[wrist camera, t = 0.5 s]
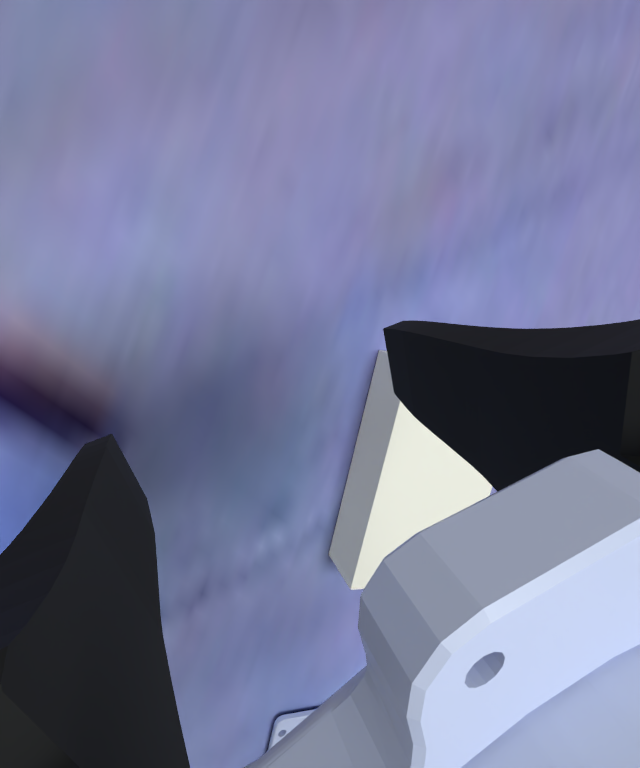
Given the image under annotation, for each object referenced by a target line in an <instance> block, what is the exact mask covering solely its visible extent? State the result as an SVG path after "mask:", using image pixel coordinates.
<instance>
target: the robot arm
mask: <svg viewBox="0 0 640 768" xmlns="http://www.w3.org/2000/svg"><path fill="white" fill-rule="evenodd" d="M383 330H384V336H385V342H386V348H387V354H388V360H389V366H390V372H391V378H392V384H393V390H394V394H395V395H396V396H397V397H398V399H399V400H400V401H401V402H402V404H403V405H404V406H405V407H406V408H407V409H408V410H409V412H410V413H411V414H412V415H413V416H414V417H415V418H416V419H417V420H418V421H419V422H421V423H422V424H423V425H424V426H425V427H426V428H428V429H429V430H430V431H431V432H432V433H433V434H435V435H436V436H437V437H438V438H439V439H441V440H442V441H443V442H444V443H445V444H447V445H448V446H449V447H450V448H451V449H452V450H454V451H455V452H456V453H457V454H458V455H460V456H461V457H462V458H463V459H464V460H466V461H467V462H468V463H469V464H470V465H471V466H473V467H474V468H475V469H476V470H477V471H478V472H479V473H480V474H481V475H482V476H483V477H484V478H485V479H486V480H487V481H488V482H489V483H490V484H491V485H492V486H493V487H494V488H495V489H496V490H497V492H496V493H494V494H492V495H490V496H488V497H486V498H484V499H482V500H480V501H478V502H476V503H474V504H472V505H471V506H469V507H467V508H465V509H463V510H461V511H459V512H457V513H455V514H453V515H451V516H449V517H447V518H445V519H443V520H441V521H439V522H437V523H435V524H433V525H431V526H430V527H428V528H426V529H424V530H422V531H420V532H418V533H416V534H415V535H413V536H412V537H411V538H409V539H408V540H407V541H405V542H404V543H403V544H401V545H400V546H399V547H397V548H396V549H395V550H393V551H392V552H391V553H389V554H388V555H387V556H386V557H384V559H383V560H382V562H381V563H380V565H379V566H378V568H377V569H376V571H375V572H374V574H373V576H372V577H371V579H370V580H369V582H368V583H367V585H366V586H365V588H364V590H363V592H362V594H361V597H360V609H359V621H358V629H359V633H360V636H361V639H362V643H363V646H364V650H365V653H366V661H367V666H365V667H364V668H363V669H362V670H361V671H360V672H359V673H357V674H356V675H355V676H354V677H353V678H352V679H350V680H349V681H348V682H347V683H346V684H345V685H343V686H342V687H341V688H340V689H339V690H338V691H337V692H335V693H334V694H333V695H332V696H331V697H330V698H328V699H327V700H326V701H325V702H324V703H323V704H321V705H320V706H319V707H318V708H317V709H313V710H308V711H302V712H296V713H291V714H285V715H281V716H279V717H278V718H277V719H276V721H275V723H274V727H273V731H272V735H271V739H270V744H269V748H268V751H267V752H266V753H265V754H264V755H262V756H261V757H260V758H259V759H258V760H256V761H254V762H252V763H251V764H249V765H247V766H246V767H244V768H640V320H634V321H627V322H621V323H613V324H605V325H595V326H583V327H572V328H552V329H511V328H493V327H479V326H468V325H458V324H448V323H438V322H428V321H402V322H399V323H397V324H394V325H391V326H389V327H386V328H384V329H383ZM0 768H190V765H189V761H188V756H187V752H186V747H185V743H184V738H183V734H182V729H181V725H180V720H179V716H178V711H177V706H176V701H175V696H174V691H173V686H172V681H171V676H170V671H169V666H168V660H167V655H166V650H165V644H164V639H163V633H162V625H161V616H160V602H159V587H158V572H157V557H156V544H155V533H154V528H153V523H152V519H151V514H150V510H149V506H148V501H147V498H146V496H145V494H144V492H143V491H142V489H141V487H140V485H139V483H138V481H137V479H136V478H135V476H134V474H133V472H132V470H131V468H130V466H129V465H128V463H127V461H126V459H125V457H124V455H123V453H122V452H121V450H120V448H119V446H118V444H117V442H116V440H115V439H114V437H113V435H112V434H110V435H108V436H105V437H102V438H100V439H97V440H95V441H92V442H89V443H87V444H85V445H84V446H83V447H82V449H81V450H80V451H79V453H78V454H77V455H76V457H75V458H74V460H73V461H72V463H71V464H70V466H69V467H68V469H67V470H66V472H65V473H64V474H63V476H62V477H61V479H60V480H59V482H58V483H57V484H56V486H55V487H54V489H53V490H52V492H51V493H50V495H49V496H48V497H47V499H46V500H45V501H44V503H43V504H42V505H41V506H40V508H39V509H38V510H37V512H36V513H35V514H34V515H33V517H32V518H31V519H30V521H29V522H28V523H27V525H26V526H25V527H24V528H23V530H22V531H21V532H20V533H19V534H18V536H17V537H16V538H15V539H14V540H13V541H12V543H11V544H10V545H9V546H8V547H7V548H6V549H5V550H4V551H3V553H2V554H1V555H0Z"/></svg>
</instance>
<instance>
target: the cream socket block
mask: <svg viewBox="0 0 640 768" xmlns="http://www.w3.org/2000/svg"><path fill="white" fill-rule="evenodd" d="M491 489H492V485H491V484H490V483H489V482H488V481H487V480H486V479H485V478H484V477H483V476H482V475H481V474H480V473H479V472H478V471H477V470H476V469H475V468H474V467H473V466H471V465H470V464H469V463H468V462H467V461H466V460H464V459H463V458H462V457H461V456H460V455H458V454H457V453H456V452H455V451H454V450H452V449H451V448H450V447H449V446H448V445H447V444H445V443H444V442H443V441H442V440H441V439H439V438H438V437H437V436H436V435H435V434H433V433H432V432H431V431H430V430H429V429H428V428H426V427H425V426H424V425H423V424H422V423H421V422H419V421H418V420H417V419H416V418H415V417H414V416H413V415H412V414H411V413H410V412H409V410H408V409H407V408H406V407H405V406H404V405H403V404H402V402H401V401H400V400H399V399H398V397H397V396H396V395H395V394H394V390H393V384H392V378H391V372H390V366H389V360H388V354H387V351H383V350H379V352H378V356H377V360H376V365H375V369H374V373H373V377H372V381H371V385H370V389H369V393H368V397H367V401H366V405H365V409H364V413H363V417H362V421H361V425H360V429H359V433H358V437H357V441H356V446H355V450H354V454H353V458H352V462H351V466H350V470H349V474H348V478H347V482H346V486H345V490H344V494H343V498H342V502H341V506H340V510H339V514H338V518H337V522H336V527H335V531H334V535H333V539H332V543H331V547H330V551H329V556H330V557H331V559H332V561H333V562H334V564H335V566H336V567H337V569H338V570H339V572H340V574H341V575H342V577H343V578H344V580H345V582H346V583H347V585H348V586H349V588H350V590H354V589H364V588H365V586H366V585H367V583H368V582H369V580H370V579H371V577H372V576H373V574H374V572H375V571H376V569H377V568H378V566H379V565H380V563H381V562H382V560H383V559H384V557H386V556H387V555H388V554H389V553H391V552H392V551H393V550H395V549H396V548H397V547H399V546H400V545H401V544H403V543H404V542H405V541H407V540H408V539H409V538H411V537H412V536H413V535H415V534H416V533H418V532H420V531H422V530H424V529H426V528H428V527H430V526H431V525H433V524H435V523H437V522H439V521H441V520H443V519H445V518H447V517H449V516H451V515H453V514H455V513H457V512H459V511H461V510H463V509H465V508H467V507H469V506H471V505H472V504H474V503H476V502H478V501H480V500H482V499H484V498H486V497H488V496H489V495H490V492H491Z"/></svg>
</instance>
